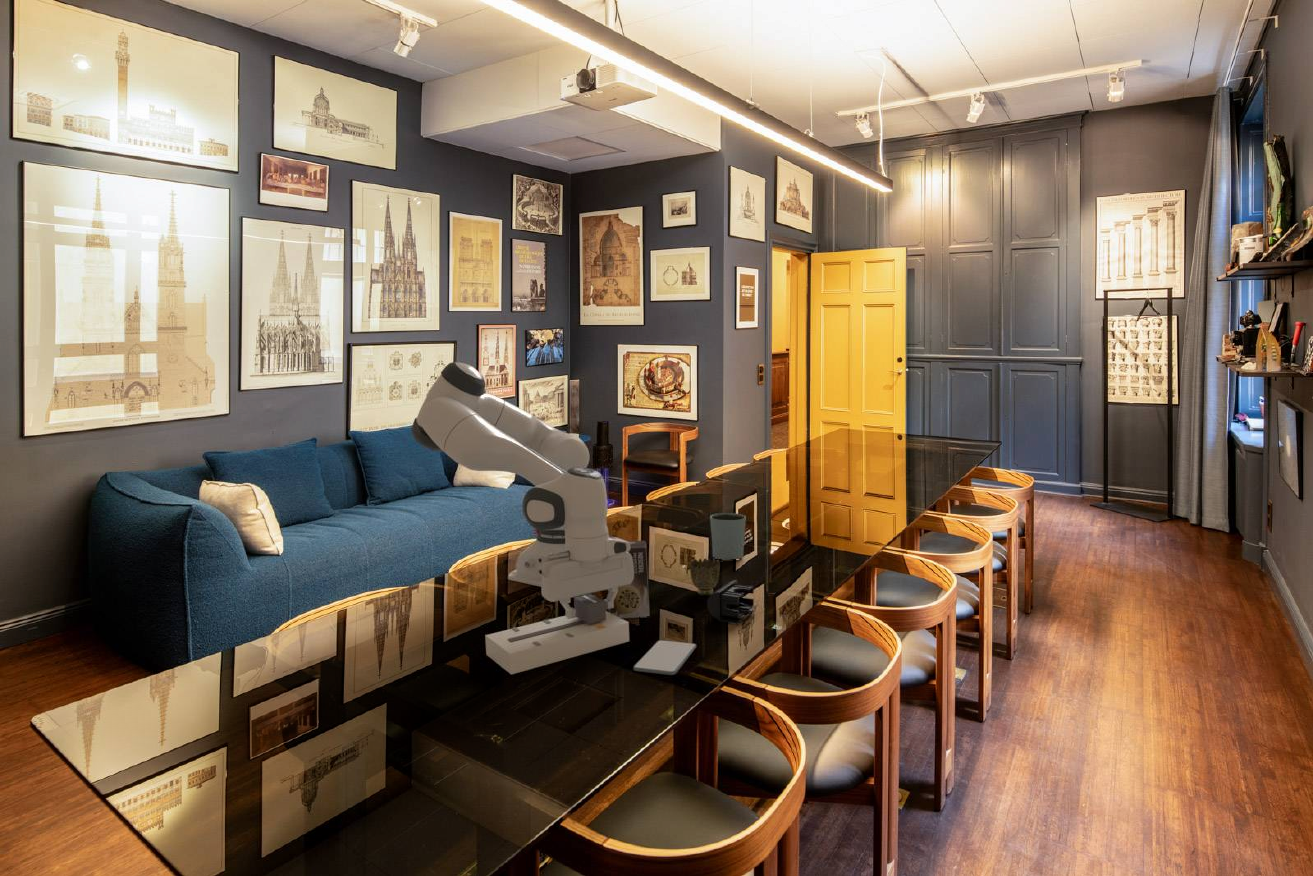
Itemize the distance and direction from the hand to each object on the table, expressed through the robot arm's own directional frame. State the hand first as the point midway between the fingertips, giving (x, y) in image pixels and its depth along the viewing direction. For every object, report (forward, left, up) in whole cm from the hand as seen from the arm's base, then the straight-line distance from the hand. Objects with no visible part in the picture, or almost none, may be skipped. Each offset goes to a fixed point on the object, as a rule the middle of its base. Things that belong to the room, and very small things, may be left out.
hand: (590, 612), depth 157 cm
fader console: (-4, -7, -6) cm, 9 cm away
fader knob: (0, 0, -1) cm, 1 cm away
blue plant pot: (+5, +68, -6) cm, 69 cm away
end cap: (+22, +23, -6) cm, 33 cm away
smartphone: (+19, -3, -6) cm, 20 cm away
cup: (+11, +35, -6) cm, 38 cm away
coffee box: (0, +16, -6) cm, 17 cm away
